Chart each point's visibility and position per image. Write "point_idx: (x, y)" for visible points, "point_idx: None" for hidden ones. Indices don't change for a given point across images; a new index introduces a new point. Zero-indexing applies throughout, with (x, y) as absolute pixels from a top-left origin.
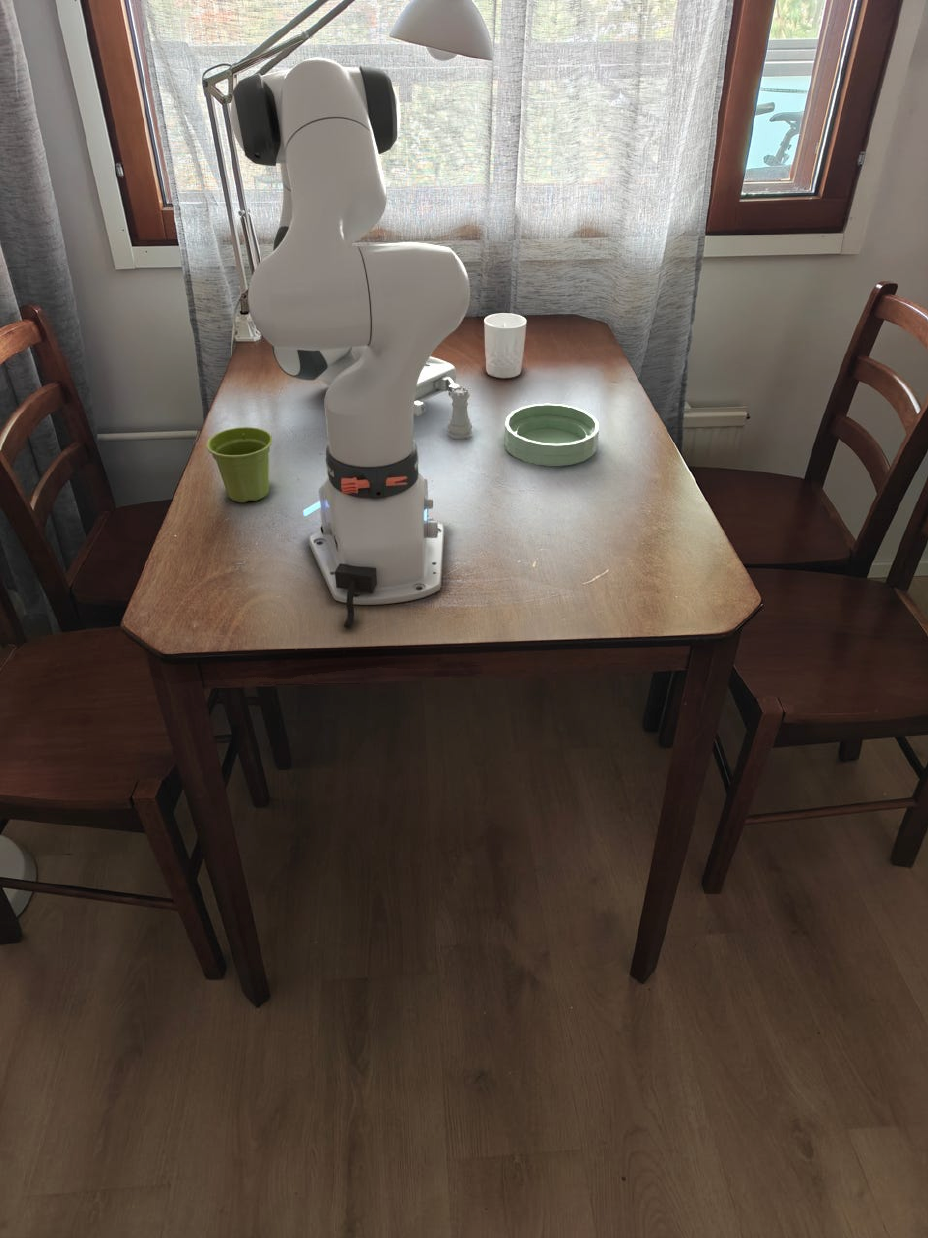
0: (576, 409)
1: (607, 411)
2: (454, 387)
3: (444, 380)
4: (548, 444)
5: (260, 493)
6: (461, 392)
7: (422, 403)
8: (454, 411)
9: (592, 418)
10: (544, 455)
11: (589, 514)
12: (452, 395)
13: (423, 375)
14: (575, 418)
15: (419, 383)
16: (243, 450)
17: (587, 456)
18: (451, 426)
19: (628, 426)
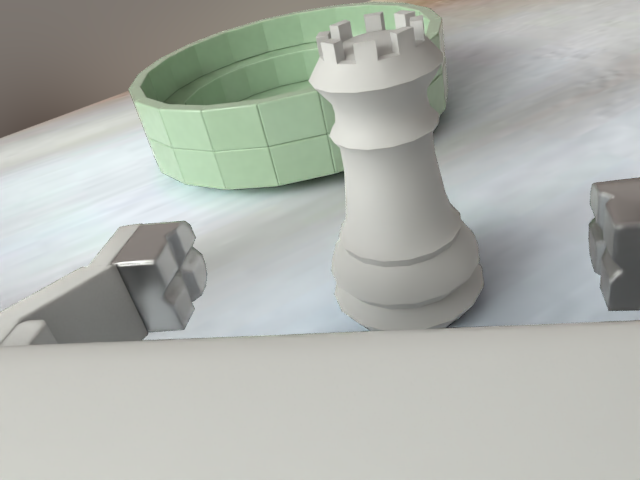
0: (153, 68)
1: (13, 165)
2: (172, 227)
3: (45, 333)
4: (416, 6)
5: None
6: (398, 13)
7: (612, 181)
8: (435, 157)
9: (197, 43)
10: None
11: (532, 6)
12: (428, 54)
13: (56, 436)
14: (164, 98)
15: (322, 337)
16: None
17: None
18: (465, 241)
19: (100, 119)
